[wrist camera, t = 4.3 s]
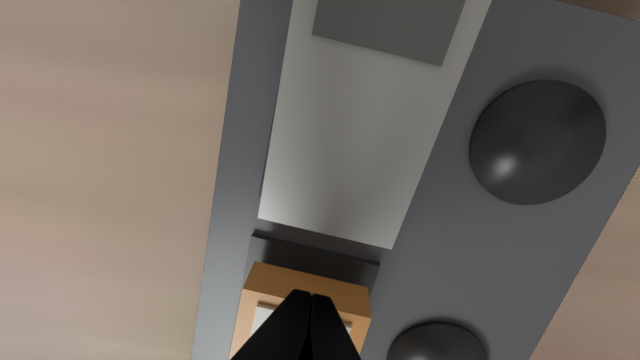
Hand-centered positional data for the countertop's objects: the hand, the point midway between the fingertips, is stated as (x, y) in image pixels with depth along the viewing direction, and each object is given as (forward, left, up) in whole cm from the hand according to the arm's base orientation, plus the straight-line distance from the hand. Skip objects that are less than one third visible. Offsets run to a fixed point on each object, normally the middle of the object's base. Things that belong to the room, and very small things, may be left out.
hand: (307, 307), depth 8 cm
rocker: (+4, 0, -1) cm, 4 cm away
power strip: (-3, -2, -5) cm, 6 cm away
